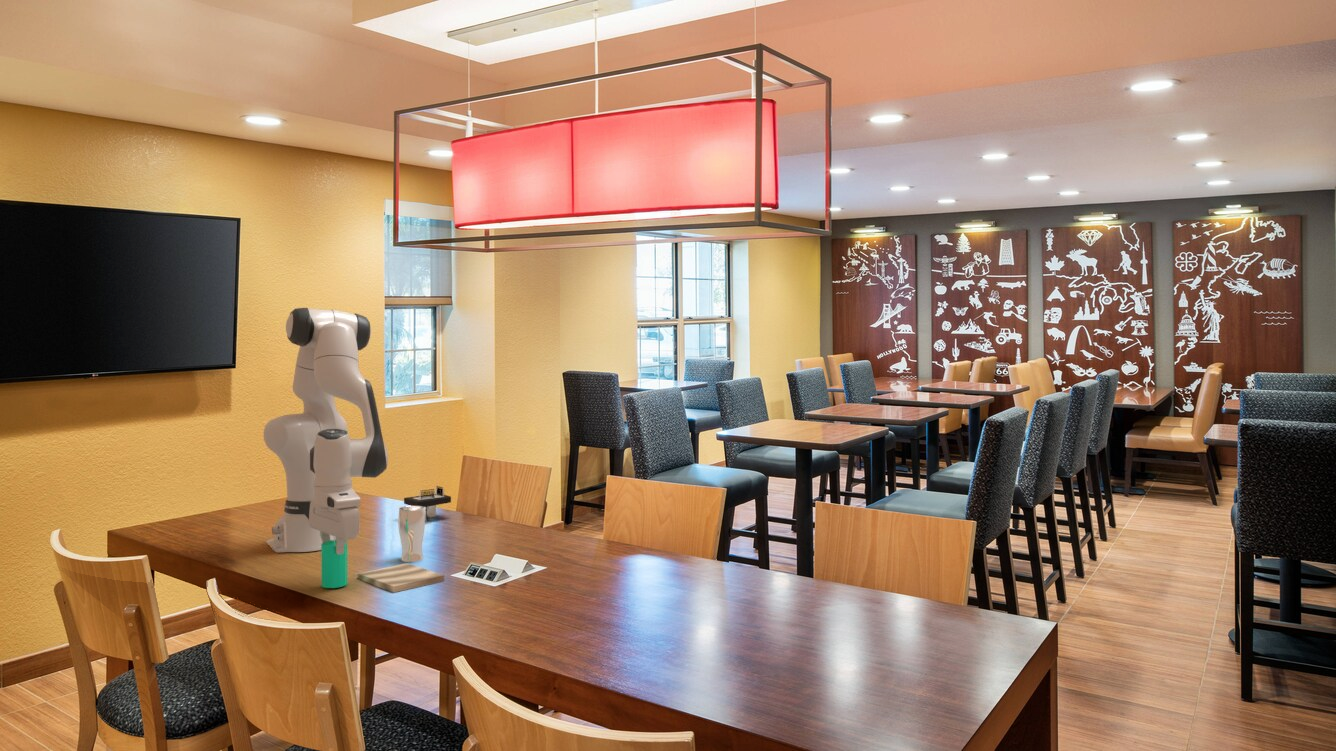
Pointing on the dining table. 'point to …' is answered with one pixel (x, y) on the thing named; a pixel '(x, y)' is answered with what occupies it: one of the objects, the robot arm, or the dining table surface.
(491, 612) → the dining table surface
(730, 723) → the dining table surface
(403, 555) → the beer glass
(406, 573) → the birch board
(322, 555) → the candle
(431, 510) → the black-topped pedestal
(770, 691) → the dining table surface
